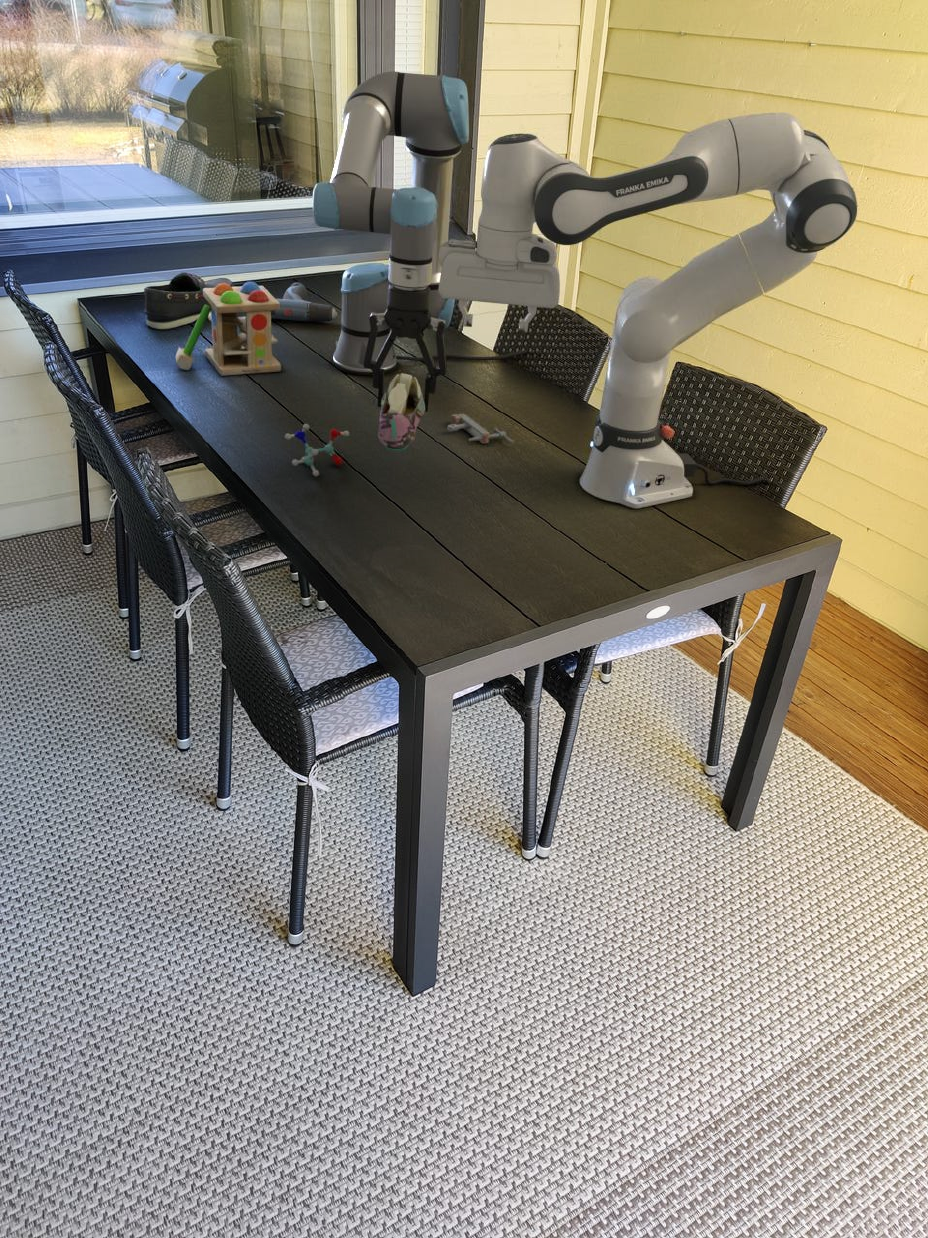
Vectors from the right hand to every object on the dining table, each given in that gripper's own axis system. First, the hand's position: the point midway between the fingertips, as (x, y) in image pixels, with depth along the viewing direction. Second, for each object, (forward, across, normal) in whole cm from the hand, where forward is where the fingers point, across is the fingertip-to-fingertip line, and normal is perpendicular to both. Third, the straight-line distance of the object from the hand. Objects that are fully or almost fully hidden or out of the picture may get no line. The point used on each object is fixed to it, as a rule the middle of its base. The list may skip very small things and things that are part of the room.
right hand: (495, 328), depth 167 cm
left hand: (+20, -16, +10) cm, 27 cm away
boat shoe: (+32, -78, +91) cm, 124 cm away
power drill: (+32, -50, +100) cm, 116 cm away
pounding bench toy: (+32, -61, +56) cm, 89 cm away
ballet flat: (+20, -16, +2) cm, 25 cm away
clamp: (+32, -1, +28) cm, 43 cm away
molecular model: (+32, -32, +7) cm, 46 cm away
